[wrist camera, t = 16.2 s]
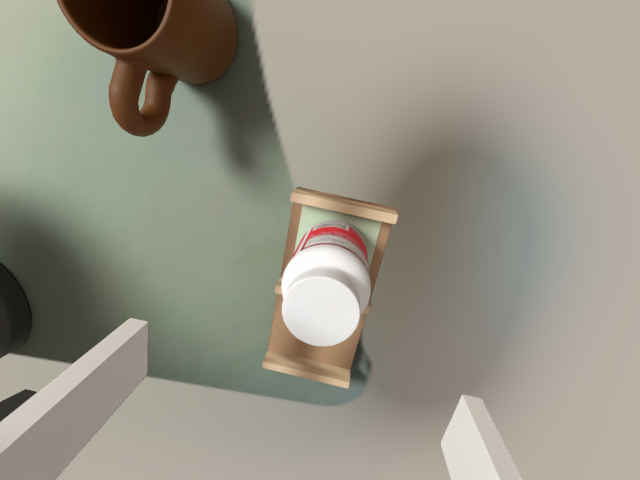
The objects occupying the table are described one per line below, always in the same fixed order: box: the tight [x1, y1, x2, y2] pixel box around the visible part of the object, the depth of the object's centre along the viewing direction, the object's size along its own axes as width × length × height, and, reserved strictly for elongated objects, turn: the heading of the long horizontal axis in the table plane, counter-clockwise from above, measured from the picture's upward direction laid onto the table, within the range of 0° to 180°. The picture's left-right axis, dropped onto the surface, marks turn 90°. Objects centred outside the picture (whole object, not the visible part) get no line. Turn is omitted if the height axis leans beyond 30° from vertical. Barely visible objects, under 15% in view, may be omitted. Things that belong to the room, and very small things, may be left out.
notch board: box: [262, 187, 398, 389], centre depth 29 cm, size 9×18×3 cm, turn 169°
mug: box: [57, 0, 238, 137], centre depth 22 cm, size 12×8×9 cm, turn 168°
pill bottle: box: [281, 220, 371, 346], centre depth 23 cm, size 6×6×11 cm
